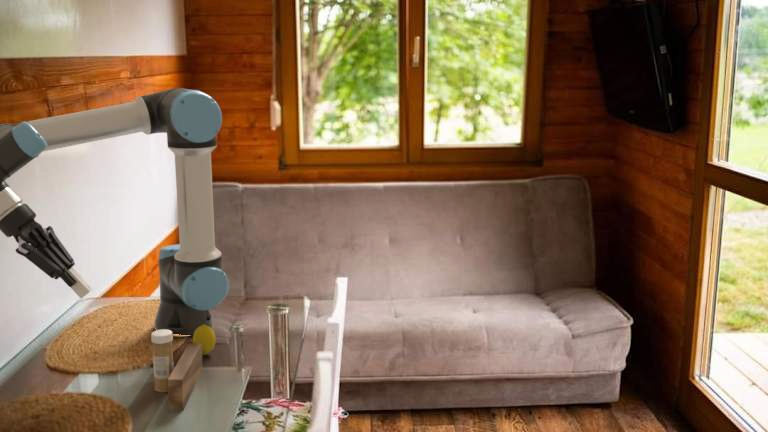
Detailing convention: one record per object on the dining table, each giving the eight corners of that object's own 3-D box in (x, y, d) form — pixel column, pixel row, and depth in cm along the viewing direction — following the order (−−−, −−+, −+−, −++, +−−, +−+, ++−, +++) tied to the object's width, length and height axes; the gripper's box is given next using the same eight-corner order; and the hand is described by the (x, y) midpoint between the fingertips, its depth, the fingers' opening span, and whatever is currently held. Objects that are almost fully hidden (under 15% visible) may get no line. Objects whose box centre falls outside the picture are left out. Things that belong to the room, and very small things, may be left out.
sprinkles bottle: (179, 386, 176) (176, 330, 173) (167, 394, 172) (164, 336, 169) (162, 383, 177) (159, 327, 175) (149, 391, 173) (146, 334, 170)
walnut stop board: (168, 410, 165) (167, 379, 163) (189, 371, 184) (189, 343, 183) (183, 410, 165) (182, 379, 163) (202, 371, 184) (201, 343, 183)
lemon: (205, 348, 198) (204, 319, 196) (220, 354, 195) (220, 324, 193) (188, 355, 193) (187, 325, 191) (203, 361, 190) (202, 330, 188)
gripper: (13, 214, 174) (87, 292, 179) (-19, 232, 162) (62, 315, 166) (36, 194, 173) (110, 273, 177) (5, 211, 160) (86, 295, 165)
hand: (86, 293), depth 172 cm, fingers closed
